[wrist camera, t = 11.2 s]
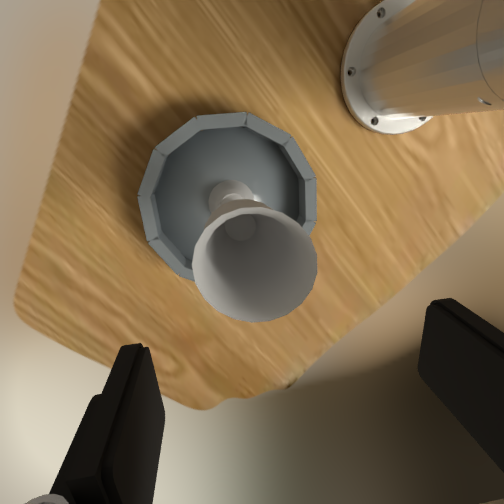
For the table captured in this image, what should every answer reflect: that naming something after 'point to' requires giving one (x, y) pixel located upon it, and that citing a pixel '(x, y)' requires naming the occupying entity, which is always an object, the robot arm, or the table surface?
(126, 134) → the table surface
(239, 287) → the chalice
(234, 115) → the bowl
